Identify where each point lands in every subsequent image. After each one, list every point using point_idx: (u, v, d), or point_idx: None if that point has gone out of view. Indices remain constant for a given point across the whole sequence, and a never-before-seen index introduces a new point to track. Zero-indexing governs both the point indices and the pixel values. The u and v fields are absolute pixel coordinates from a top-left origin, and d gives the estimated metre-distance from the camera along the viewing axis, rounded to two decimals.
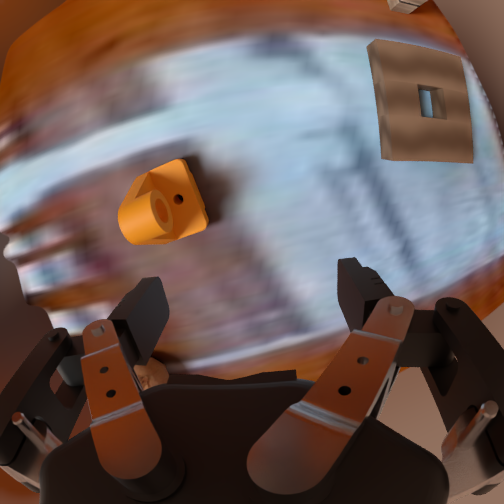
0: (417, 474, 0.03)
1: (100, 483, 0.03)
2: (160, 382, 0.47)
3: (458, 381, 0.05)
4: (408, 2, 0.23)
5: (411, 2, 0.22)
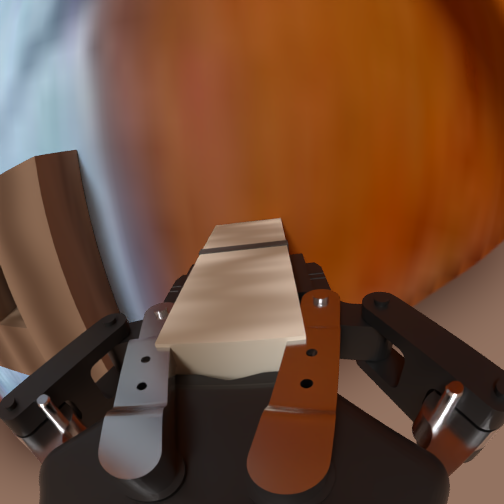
0: (411, 470, 0.03)
1: (100, 483, 0.03)
2: None
3: (408, 370, 0.06)
4: None
5: None
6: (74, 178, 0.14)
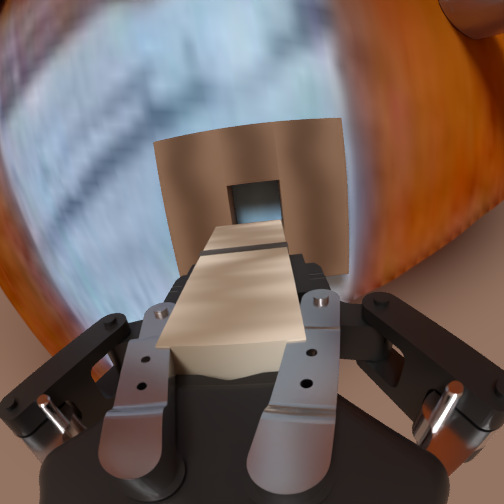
0: (411, 470, 0.03)
1: (100, 483, 0.03)
2: None
3: (408, 370, 0.06)
4: None
5: None
6: None
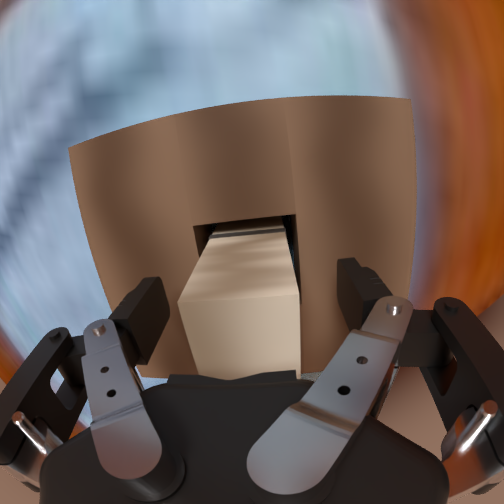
0: (417, 474, 0.03)
1: (100, 483, 0.03)
2: None
3: (457, 381, 0.05)
4: None
5: None
6: None
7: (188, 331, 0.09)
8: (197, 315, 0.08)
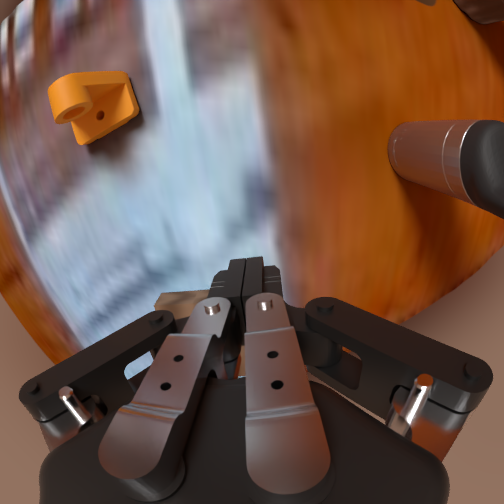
0: (405, 469, 0.03)
1: (100, 483, 0.03)
2: None
3: (368, 372, 0.06)
4: None
5: None
6: None
7: None
8: None
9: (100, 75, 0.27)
